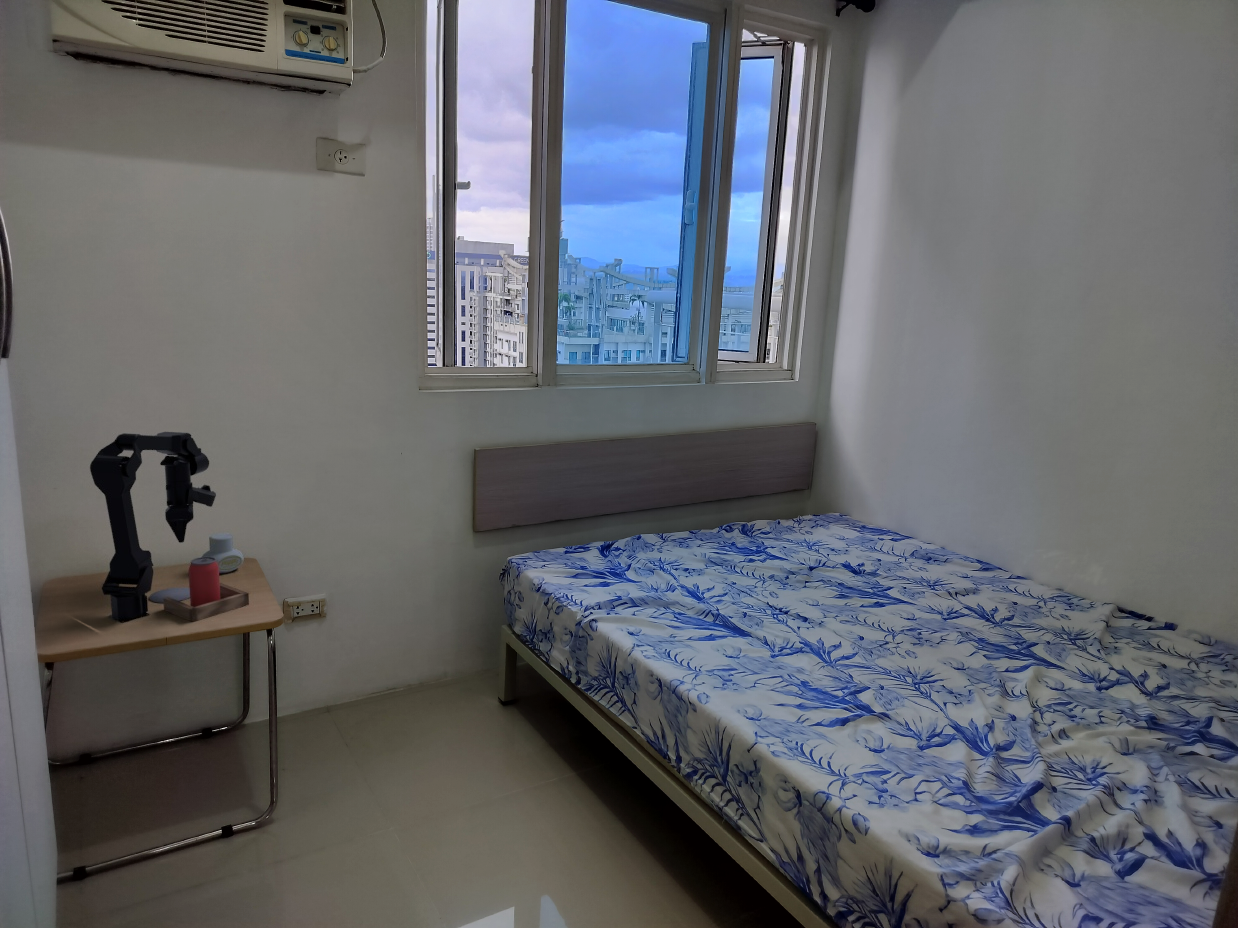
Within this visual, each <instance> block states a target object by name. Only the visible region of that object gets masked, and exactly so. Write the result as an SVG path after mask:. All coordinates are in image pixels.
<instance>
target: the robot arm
mask: <svg viewBox="0 0 1238 928" xmlns="http://www.w3.org/2000/svg"><path fill="white" fill-rule="evenodd" d="M124 451H127V452H128V451H130V452H132V453H131V455H130V456H127V455H125V456H124V455H120V454H123V452H124ZM143 451H156V452H157V453H160V454H165V456H164V458H163V459H162V460H161V461H160V463H159V465H160V466H164V473H165V490H166V491H165V492H166V494H165V495H166V506H167V508H166V509H165V511H164V513H165V515H164V516H165V520H166V523H167V524H168V525H169V528H170V529H171V531H172V533H173V534H174V536H175V538H176V540H177V541H178V543H179V544H181V543H185V538H186V531H187V527H188V526H187V525H188V524H189V523H190V522H192V520H194V517H195V515H194V503H196V504H200V505H204V506H206V507H208V508H209V507H210V508H211V507H213V505H214V502H215V499H216V497H217V492H215V491H214V490H211V485H209V484H203V485H202V486H201V487H199V486H198V487H194V486H193V481H192V476H195V475H198V474H200V473H203V472H205V471H207V470H208V468H209V466H210V460H209V458H208V456H207V454H205V453H203V452H202V448H201V447H198V445H197V443H196V441H195V439H194V438H193V437H192V434H191V433H189V432H176V431H162V432H158V433H157V434H156V435H152V434H151V435H146V434H145V435H144V434H140V433H121V434H118V435H117V436H116V438H115V439H114V440H113V441H112V442H111V443H109V444H108V445H106V446H104V447H102V448H101V449H100V450H99V451H98V453H97V454H96V455H95V457H94V458H93V460H92V461H91V462H90V464H89V465H90V466H89V472H90V474H91V478H92V480H93V483H94V486H96V487H97V489H98V490H100V492H101V493H102V494H104V496H105V503H106V509H107V514H108V521H109V524H110V530H111V536H112V542H113V547H114V554H113V556H112V558H111V560H110V562H109V571H108V574H107V575H106V578H105V580H104V582H103V584H102V586H101V590H102V594H103V595H104V596H110V609H111V614H110V615H108V618H110V619H112V620H114V621H115V622H116V621H117V622H119V623H120V624H124V623H128V622H131V621H135V620H139V619H141V618H145V617H149V616H151V614H150V613H149V604H148V603H149V602H148V595H146V594H147V593H150V591H152V586H153V578H154V568H153V567H154V563H153V561H152V553H151V551H150V550H143V549H142V548H141V546H140V542H139V535H138V534H139V533H138V530H137V524H136V517H135V512H134V506H133V500H132V495H131V491H132V488H133V486H134V484H135V482H136V481H137V471H138V470H139V468H140V466H142V464H143V459H142V453H143ZM120 585H121V586H120ZM122 585H128V586H122ZM129 585H131V586H129ZM133 585H134V586H133Z"/></svg>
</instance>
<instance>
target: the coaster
mask: <svg viewBox="0 0 1238 928" xmlns="http://www.w3.org/2000/svg"><path fill="white" fill-rule="evenodd" d="M165 597H170V598H173V599H175V600H178V601H180V602H183V601H185V600H190V588H189V587H170V588H169V587H168V588H163V589H160V590H157V591H155V592H153V593H151V594H150V595H149V601H151V602H154V603H158V604H164V600H163V598H165Z"/></svg>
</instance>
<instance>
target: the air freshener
mask: <svg viewBox="0 0 1238 928" xmlns="http://www.w3.org/2000/svg"><path fill="white" fill-rule="evenodd" d="M201 557H213V558H215V559H216V562H217V564H218V566H219V574H228V573H231V572H233V571H235V570H237V569H238V568H239V567H241V566H242V564H243V563H244V561H245V560H244V559H245V558H244V555H243V553H242V552H241V551H240V550H239V549H236V548H234V535H232V534H231V533H227V532H226V533H225V532H223V533H216V534H214V533H213V534H212V535H210V536H209V550H208V551H206V552H204V553H203V554H202V555H201Z"/></svg>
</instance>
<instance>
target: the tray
mask: <svg viewBox="0 0 1238 928" xmlns="http://www.w3.org/2000/svg"><path fill="white" fill-rule="evenodd" d="M249 595H250V594H249V592H246V591H244V590H241V589H239V588H235V587H233V586H230V585H228V584H225V583H223V582H220V600H217V601H214V602H210V603H207V604H203V605H200V606H196V607H192V606H191V605H190V604H187V603H185V602H183V601H178V600H175V599H173V598H170V597H165V598H163V600H164V603H163V610H164V611H166V612H168V613H171V614H173V615H175V616H178V617H180V618H182V619H185V620H187V621H190V622H192V623H194V622H197V621H200V620H203V619H206V618H210V617H213V616H217V615H219V614H223V613H226V612H229V611H233V610H235V609H239V608H242V607H245V606H249V605H250V598H249V597H250V596H249Z"/></svg>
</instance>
